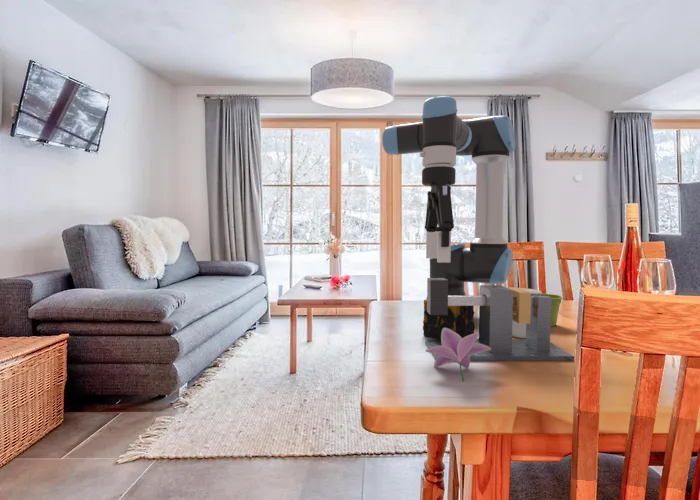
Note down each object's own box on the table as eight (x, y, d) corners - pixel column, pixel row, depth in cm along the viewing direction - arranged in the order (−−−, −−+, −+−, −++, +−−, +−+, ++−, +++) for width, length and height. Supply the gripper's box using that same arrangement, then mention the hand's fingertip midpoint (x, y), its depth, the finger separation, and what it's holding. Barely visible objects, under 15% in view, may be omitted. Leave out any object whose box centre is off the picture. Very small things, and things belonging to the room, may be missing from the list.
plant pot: (523, 320, 132) (523, 293, 131) (553, 321, 131) (554, 293, 131) (535, 327, 122) (535, 298, 122) (568, 328, 122) (569, 298, 122)
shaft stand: (425, 343, 106) (425, 283, 105) (544, 343, 106) (546, 283, 105) (436, 360, 92) (437, 292, 91) (574, 360, 92) (576, 292, 91)
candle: (443, 329, 120) (443, 295, 120) (475, 336, 113) (476, 299, 112) (421, 336, 113) (422, 299, 112) (455, 343, 106) (455, 304, 105)
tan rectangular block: (505, 316, 102) (506, 287, 102) (516, 316, 102) (516, 287, 102) (518, 323, 95) (519, 292, 94) (530, 323, 94) (530, 292, 94)
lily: (500, 380, 83) (489, 332, 88) (487, 373, 74) (475, 320, 78) (442, 389, 88) (434, 344, 92) (423, 384, 79) (414, 334, 83)
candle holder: (544, 340, 109) (545, 293, 108) (504, 337, 111) (505, 292, 110) (535, 330, 119) (536, 288, 118) (499, 329, 121) (499, 287, 120)
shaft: (427, 311, 101) (427, 278, 100) (538, 311, 100) (539, 278, 100) (430, 315, 97) (430, 280, 96) (546, 315, 96) (547, 280, 96)
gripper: (414, 174, 109) (413, 256, 110) (432, 158, 84) (431, 264, 85) (443, 174, 109) (442, 257, 110) (470, 158, 84) (468, 264, 85)
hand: (437, 260), depth 98 cm, fingers open, 13 cm apart
